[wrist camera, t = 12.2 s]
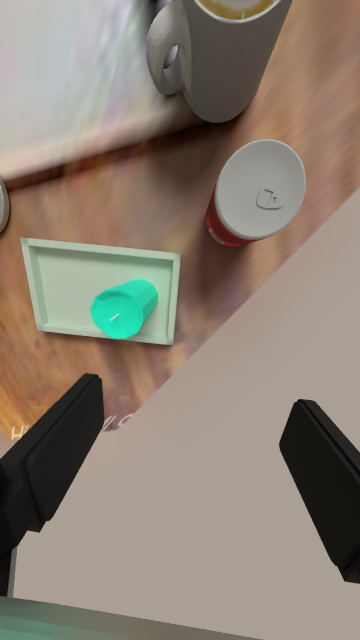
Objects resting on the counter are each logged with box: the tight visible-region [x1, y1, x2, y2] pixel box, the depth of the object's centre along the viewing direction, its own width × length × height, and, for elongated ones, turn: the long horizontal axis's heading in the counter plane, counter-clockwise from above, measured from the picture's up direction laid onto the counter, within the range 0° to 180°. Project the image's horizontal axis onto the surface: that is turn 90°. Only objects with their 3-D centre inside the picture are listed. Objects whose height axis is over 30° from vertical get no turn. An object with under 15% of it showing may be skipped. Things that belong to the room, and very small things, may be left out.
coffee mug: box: [147, 0, 292, 123], centre depth 16 cm, size 13×10×10 cm
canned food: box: [206, 139, 306, 247], centre depth 21 cm, size 8×8×11 cm
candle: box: [90, 279, 158, 339], centre depth 24 cm, size 6×6×12 cm
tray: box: [20, 237, 182, 345], centre depth 29 cm, size 24×15×2 cm, turn 85°
